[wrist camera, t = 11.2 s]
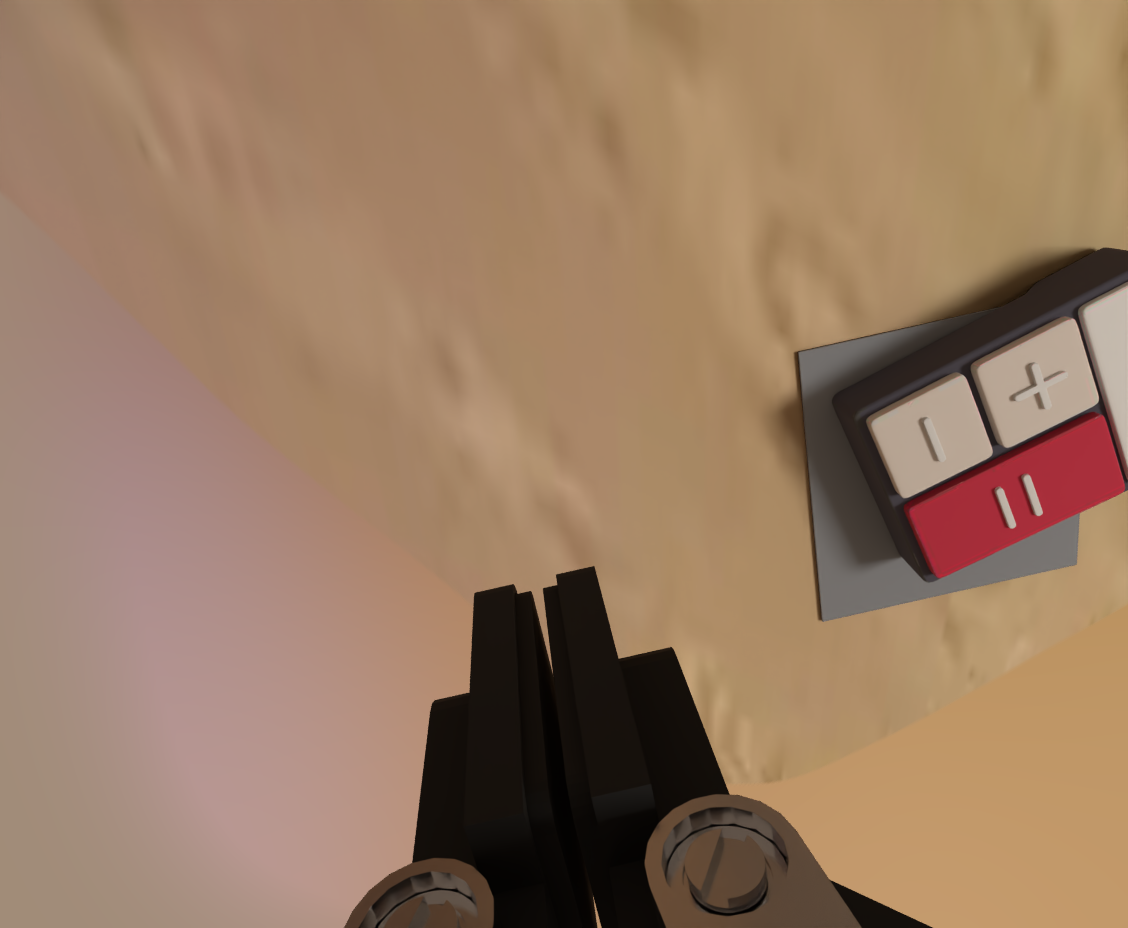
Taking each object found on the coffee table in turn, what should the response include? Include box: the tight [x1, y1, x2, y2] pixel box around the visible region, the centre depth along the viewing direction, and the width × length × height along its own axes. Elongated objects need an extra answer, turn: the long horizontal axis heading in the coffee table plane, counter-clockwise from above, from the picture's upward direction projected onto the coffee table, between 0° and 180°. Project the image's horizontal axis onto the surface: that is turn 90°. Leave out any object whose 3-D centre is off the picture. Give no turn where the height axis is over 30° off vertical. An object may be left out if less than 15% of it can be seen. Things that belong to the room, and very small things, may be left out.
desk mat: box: [798, 307, 1080, 622], centre depth 40 cm, size 16×15×1 cm
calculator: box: [832, 248, 1128, 583], centre depth 38 cm, size 11×4×15 cm
